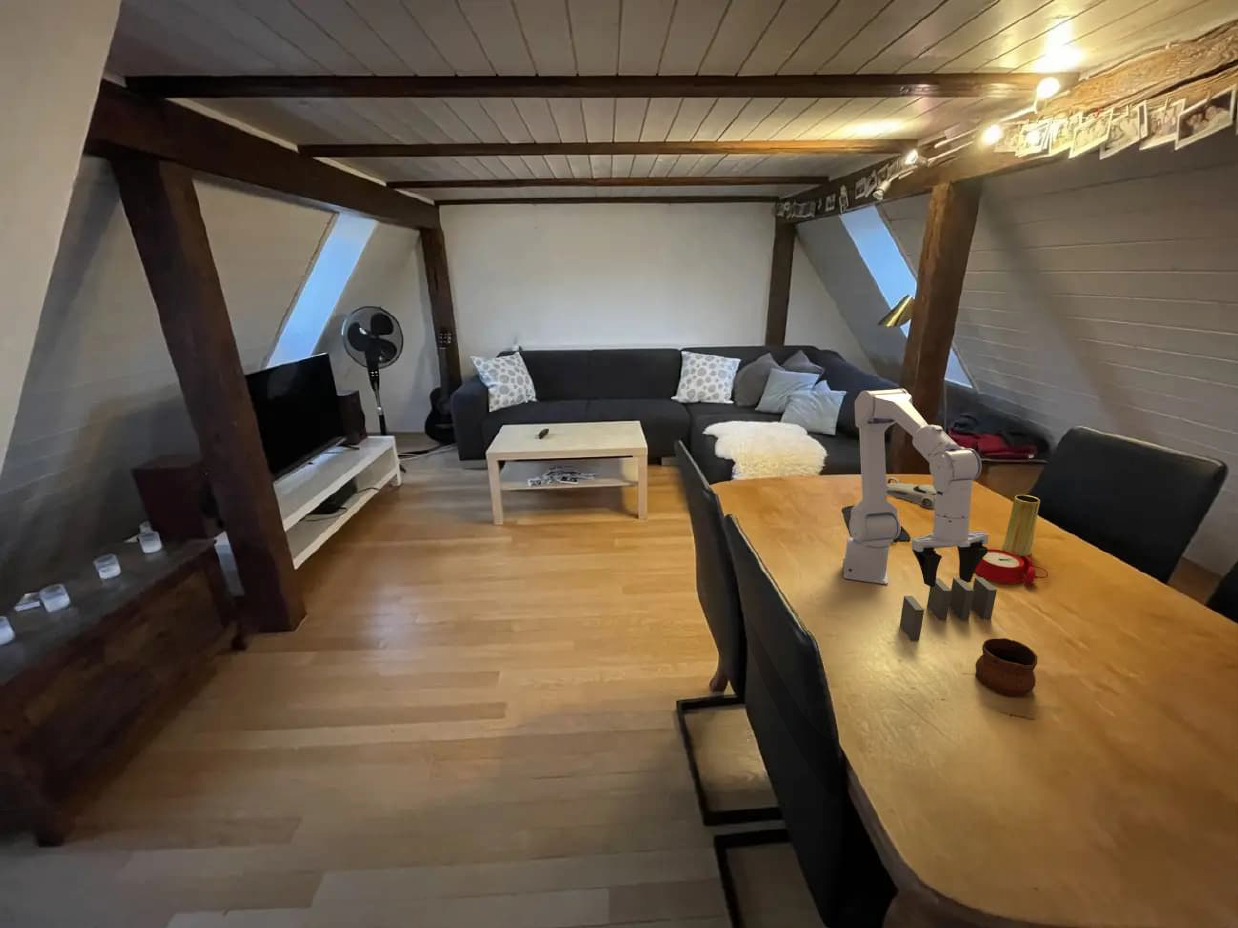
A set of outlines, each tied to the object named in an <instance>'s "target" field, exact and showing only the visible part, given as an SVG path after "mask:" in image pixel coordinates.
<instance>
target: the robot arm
mask: <svg viewBox="0 0 1238 928" xmlns="http://www.w3.org/2000/svg"><path fill="white" fill-rule="evenodd" d="M854 420H855V427H856V428H858V429H859V430H858V431H859V432H858V433H859V451H860V453H859V454H860V473H861V475H860V476H861V495H862V497H861V498H862V499H861V500H860V501H859V502H858V503H857V504H856V506H854V507H853V508H852V509H851V519H850V522H849V530H850V533H851V536H852V537H851V536H847V537H846V543H845V544H846V545H845V555H844V558H843V561H842V567H843V578H844V579H847V580H853V581H861V582H867V583H874V584H882V585H888V584H889V577H888V570H887V569H888V567H887V566H888V561H889V560H888V559H889V552H890V547H891V546H890V545H891V544H894V542H893V539H895V538H897V537H898V536H899V534H900V531H901V526H902V524H901V520H900V518H899V514H898V513H899V512H898V508H897V507H896V506H895V505H894V504H893V503H891V502H890V501H889V500H888V496H887V489H886V485H887V468H886V467H887V466H886V448H885V446H886V444H885V432H886V430H888V428H890V426H892V425H895V424H896V423H897V424H898V425H899V426H900V427H901V428H903V429H904V430H905V432H907V433H908V434H909V435H911V436H912V446H913V447H914V448H915V449H916V450H917V451H918V452H919V453H920V454H921V456H922V457H923V458H924V460H926V461H927V462H928V463H929V472H930V475H931V477H932V485H933V486H934V489H935V490H936V495H935V509H934V515H933V530H932V533H929V534H927V535H923V536H921V537H917V538H912V539H911V548H910V549H912V552H913V554H914V557H915V558H916V560H917V562H918V564H919V567H920V571H921V574H922V578H923V584H925V585H926V586H928V587H929V588H930V587H934V586H935V583H936V578H937V575H938V573H937V572H938V567H939V565H940V562H941V560H942V558H943V556H942V555H941V554H939V553H937V551H936V550H935V549H944V548H952V547H957V551H958V552H957V553H958V560H959V562H958V563H959V565H958V567H959V568H958V574H959V576H958V578H960V579H961V580H963V581H965V582H966V583H967V584H970V583H971V582H972V579H973V578H974V574H975V573H976V572H975V570H976V568H977V566H978V564H979V562H980V561H981V560H982V558H983V557H984V556H985V555H986V554H987V552H988V549H989V548H988V547H987V546H984V545H988V544H989V537H990V536H989V533H986V532H984V531H979V530H978V531H970V518H971V503H972V491H973V481H974V480H976V479H978V478H979V476H980V475H981V472H982V460H981V457H980V455H979V454H978V452H977V451H976V450H975V449H973V448H966V447H964V446H960V445H959V444H957V442H955V440H954V439H952V438H951V437H950V436H949V435H948V434H947V433H946V432H945V431H944V428H943V427H942V426H941V425H935V424H928V423H927V421H926V420H925V419H924V418H923V417H922V415H921V414H920V413H919V412H918V410H917V409H916V408H915V407H914V406H913V396H912V395H911V394H909V392H908V390H907V389H904V388H895V389H882V390H862V391H860V393H859V394H858V396H857V398H855V401H854ZM872 513H876V514H872Z"/></svg>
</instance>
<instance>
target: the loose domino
mask: <svg viewBox="0 0 1238 928" xmlns="http://www.w3.org/2000/svg"><path fill="white" fill-rule="evenodd" d="M901 607H902V608H901V614H900V620H899V627H900V629H901V630H902V631H903V632H904V634H905V635H906V636H907V638H908V639H909V640H910V641H911V642H919V641H920V638H921V631H922V625H923V620H924V614H925V609H924V607H922V606H921V605H920V603H919V601H917V600H916V599H915V597H914V596H913V595H904V596H903V601H902V606H901Z"/></svg>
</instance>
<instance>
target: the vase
mask: <svg viewBox="0 0 1238 928" xmlns="http://www.w3.org/2000/svg"><path fill="white" fill-rule="evenodd" d="M1040 504H1041V499H1039V498H1038V497H1036V496H1033V495H1029V494H1028V495H1027V494H1017V495H1015V496H1014V499H1013V503H1012V508H1011V513H1010V516H1009V520H1008V526H1007V529H1006V534H1005V538H1004V541H1003V544H1002V546H1001V547H1002V548H1001V549H1002V551H1006V552H1009V553H1012V554H1014V555H1016V556H1018V557H1021V556H1027V557H1029V556H1030V555H1031V553H1032V547H1033V544H1034V542H1033V541H1034V537H1035V531H1036V523H1037V519H1038V515H1039V514H1038V513H1039V510H1040V509H1039V508H1040Z"/></svg>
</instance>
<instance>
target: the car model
mask: <svg viewBox="0 0 1238 928" xmlns="http://www.w3.org/2000/svg"><path fill="white" fill-rule="evenodd" d="M891 481H894V482H891ZM886 489H887V497H888V496H889V497H893V498H896V499H900V500H904V501H908V502H911V503H914V504H916V505H918V506H921V507H924V508H927V509H932V510H935V495H936V490H935V489H934V486H933V484H920V485H919V484H913V483H906V482H900V480H899V479H898V478H897V477H895V476H890V477H889V478H888V479H886Z"/></svg>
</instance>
